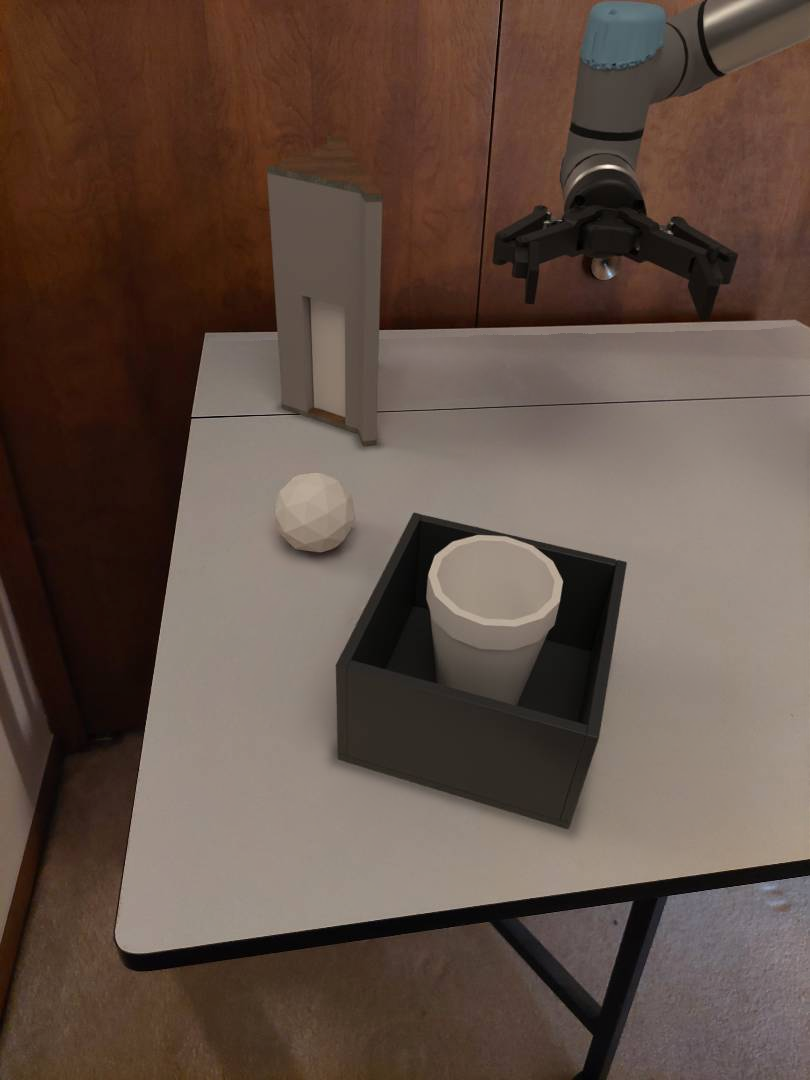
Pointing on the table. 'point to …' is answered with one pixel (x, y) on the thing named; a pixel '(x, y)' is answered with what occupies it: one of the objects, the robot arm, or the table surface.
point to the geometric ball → (314, 512)
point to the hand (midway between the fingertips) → (619, 295)
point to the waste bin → (468, 719)
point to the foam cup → (490, 613)
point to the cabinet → (327, 285)
